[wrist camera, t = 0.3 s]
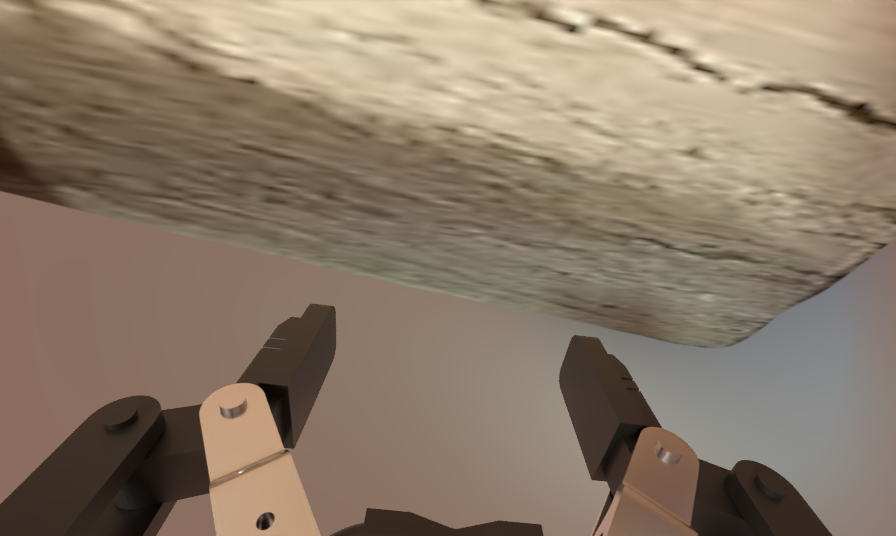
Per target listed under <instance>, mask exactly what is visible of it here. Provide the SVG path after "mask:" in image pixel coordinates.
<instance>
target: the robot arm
mask: <svg viewBox="0 0 896 536" xmlns="http://www.w3.org/2000/svg"><path fill="white" fill-rule="evenodd" d="M335 314H336V312H335V307H334V306H326V305H318V304H310V305H309V306H308V308H307V309H306V311H305V312H304V314H303V315H302V317H301V318H297V317H291V318H289V319H288V320H286V321H285V322H283V323H282V324H280V325H279V326H278V327H277V328H276V329H275V331H274V332H273V333H272V335H271V336H270V339H268V340H267V342H266V343H265V344H264V346H263V349H261V350H260V351H259V353H258V354H257V355H256V357H255V358H254V359H253V361H252V362H251V364H250V365H249V367H248V368H247V369H246V370H245V372H244V373H243V375H242V376H241V377H240V379H239V380H238V381H237V383H236V384H233V385H229V386H226V387H223V388H221V389H219V390H217V391H216V392H214V393H213V394H211V395H210V396H209V397H208V398H207V399H206V400H205V401H204V403H203V404H200V405H195V406H189V407H182V408H175V409H168V410H162V409H161V406H160V404H159V402H158V401H157V400H156V399H154V398H152V397H149V396H131V397H126V398H123V399H119V400H117V401H114V402H112V403H109V404H107V405H105V406H104V407H102V408H100V409H98V410H97V411H96V412H94V413H93V414H92V415H91V416H90V417H88V419H86V420H85V421H84V422H83V423H82V424H81V425H80V426H79V427H78V428H77V429H76V430H75V431H74V432H73V433H72V434H71V435H70V436H69V437H68V438H67V439H66V440H65V441H64V442H63V443H62V444H61V445H60V446H59V447H58V448H57V449H56V450H55V451H54V452H53V453H52V454H51V455H50V456H49V457H48V458H47V459H46V460H45V461H44V462H43V463H42V464H41V465H40V466H39V467H38V468H37V469H36V470H35V471H34V472H33V473H32V474H31V475H30V476H29V477H28V478H27V479H26V480H25V481H24V482H23V483H22V484H21V485H20V486H18V488H16V489H15V490H14V491H13V492H12V493H11V495H9V496H8V498H6V499H5V500H4V501H3V502H2V503H1V504H0V536H156V535H157V533H158V531H159V530H160V528H161V526H162V525H163V523H164V522H165V520H166V518H167V517H168V515H169V513H170V512H171V510H172V508H173V507H174V505H175V503H176V502H177V500H180V499H184V498H189V497H194V496H198V495H203V494H207V493H210V497H211V503H212V510H213V516H214V523H215V529H216V535H217V536H321V535H320V533H319V530H318V527H317V525H316V522H315V519H314V516H313V514H312V511H311V508H310V506H309V503H308V500H307V497H306V494H305V492H304V489H303V486H302V484H301V481H300V478H299V475H298V473H297V470H296V467H295V465H294V462H293V459H292V457H291V454H290V452H289V451H288V450H285V449H284V448H292V449H294V448H295V446H296V443H297V441H298V439H299V437H300V434H301V432H302V430H303V428H304V425H305V423H306V421H307V419H308V416H309V414H310V412H311V409H312V407H313V405H314V403H315V400H316V398H317V396H318V394H319V391H320V389H321V386H322V384H323V382H324V380H325V378H326V375H327V373H328V371H329V369H330V366H331V364H332V362H333V359H334V355H335V350H336V315H335ZM632 379H633V378H632V377H631V375H630V373H629V372H628V370H627V368H626V367H625V366H624V365H623V364H622V363H621V362H620V361H619V360H618V359H617V358H616V357H615V356H614V355H610V354H607V352H606V350H605V349H604V347H603V345H602V343H601V341H600V340H599V339H598V338H595V337H586V336H578V335H577V336H576V335H575V336H573V337H572V339H571V341H570V344H569V347H568V350H567V352H566V355H565V358H564V361H563V364H562V367H561V370H560V376H559V382H560V388H561V391H562V394H563V397H564V400H565V403H566V406H567V409H568V412H569V415H570V418H571V421H572V424H573V427H574V429H575V432H576V435H577V438H578V441H579V444H580V447H581V450H582V453H583V456H584V459H585V462H586V465H587V468H588V470H589V473H590V476H591V479H592V480H598V481H607V483H608V485H609V488H610V490H609V492H608V494H607V496H606V498H605V501H604V503H603V506H602V508H601V511H600V513H599V516H598V518H597V521H596V523H595V526H594V529H593V531H592V534H591V536H832V535H831V533H830V532H829V531H828V530H827V528H826V527H825V526H824V524H823V523H822V522H821V520H819V518H818V517H817V515H816V514H815V513H814V512H813V510H812V509H811V508H810V506H809V505H808V504H807V503H806V501H805V500H804V499H803V497H802V496H801V495H800V494H799V492H798V491H797V490H796V489H795V488H794V487H793V486H792V485H791V484H790V483H789V482H788V481H787V480H786V479H785V478H784V477H782V476H781V475H780V474H778V473H777V472H775V471H774V470H772V469H771V468H769V467H767V466H765V465H763V464H760V463H757V462H754V461H750V460H741V461H739V462H738V463H736V465H735V466H734V467H733V469H732V470H731V471H730V470H727V469H724V468H722V467H718V466H716V465H714V464H711V463H708V462H706V461H703V460H700V459H698V458H697V455H696V454H695V452H694V451H693V449H692V448H691V447H690V446H689V445H688V444H687V443H686V442H685V441H684V440H683V439H681V438H680V437H679V436H677V435H676V434H674V433H672V432H670V431H668V430H665V429H662V427H661V425H660V424H659V422H658V420H657V419H656V417H655V415H654V414H653V412H652V410H651V409H650V407H649V405H648V404H647V402H646V400H645V399H644V397H643V395H642V393H641V392H639V388H638V387H637V385H636V383H635V382H634V381H632ZM330 536H543V531H542V526H541V525H539V524H529V523H518V522H508V521H495V522H490V523H485V524H480V525H475V526H471V527H465V528H461V529H453V528H449V527H447V526H444V525H442V524H439V523H437V522H434V521H431V520H428V519H426V518H424V517H421V516H419V515H416V514H414V513H411V512H402V511H392V510H381V509H370V508H367V511H366V516H365V521H364V523H361V524H356V525H353V526H350V527H347V528H344V529H342V530H340V531H338V532H336V533H334V534H332V535H330Z"/></svg>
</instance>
